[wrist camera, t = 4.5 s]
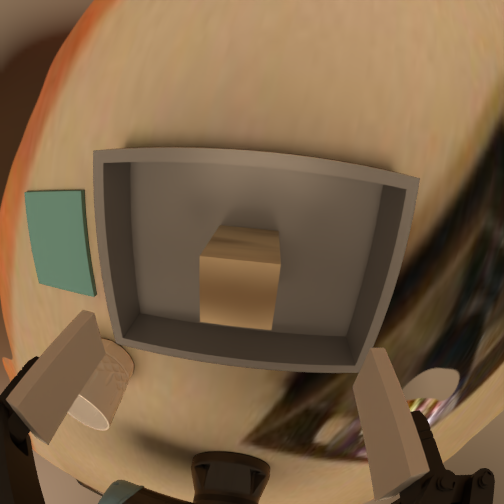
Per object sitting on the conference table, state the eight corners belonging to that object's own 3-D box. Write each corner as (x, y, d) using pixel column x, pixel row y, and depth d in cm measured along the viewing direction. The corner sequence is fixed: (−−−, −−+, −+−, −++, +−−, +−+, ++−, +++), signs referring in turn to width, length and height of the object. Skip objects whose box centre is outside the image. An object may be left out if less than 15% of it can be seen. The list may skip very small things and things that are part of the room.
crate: (351, 341, 28) (361, 372, 23) (135, 316, 28) (116, 343, 24) (392, 171, 21) (419, 178, 16) (124, 148, 22) (93, 150, 17)
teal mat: (96, 294, 28) (94, 296, 27) (41, 281, 28) (39, 283, 28) (84, 190, 23) (80, 191, 23) (27, 191, 24) (24, 192, 23)
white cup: (87, 325, 30) (45, 374, 21) (139, 348, 30) (105, 408, 21) (91, 363, 33) (59, 410, 24) (138, 385, 33) (112, 438, 24)
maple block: (272, 283, 25) (271, 330, 19) (217, 277, 25) (200, 321, 19) (278, 230, 23) (280, 264, 17) (219, 225, 23) (199, 256, 17)
